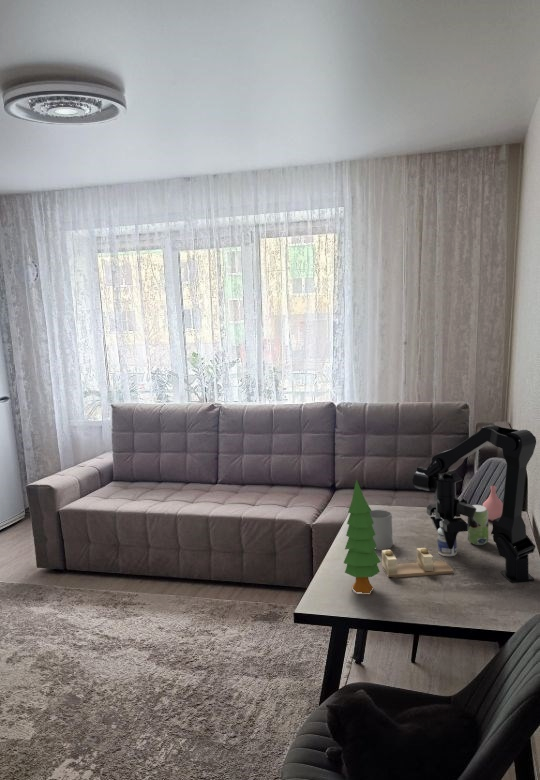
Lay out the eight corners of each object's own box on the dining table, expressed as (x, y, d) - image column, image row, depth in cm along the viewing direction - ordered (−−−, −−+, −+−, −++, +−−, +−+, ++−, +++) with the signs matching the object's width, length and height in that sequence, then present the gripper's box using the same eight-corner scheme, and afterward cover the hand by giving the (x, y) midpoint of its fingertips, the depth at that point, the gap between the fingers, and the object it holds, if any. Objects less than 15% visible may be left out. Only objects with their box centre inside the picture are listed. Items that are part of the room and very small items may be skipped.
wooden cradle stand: (453, 573, 156) (452, 552, 156) (388, 577, 155) (387, 557, 155) (444, 563, 163) (443, 543, 163) (382, 567, 162) (381, 547, 162)
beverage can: (485, 539, 180) (484, 502, 179) (492, 547, 173) (491, 509, 172) (465, 539, 181) (464, 502, 180) (470, 548, 174) (470, 509, 172)
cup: (390, 550, 175) (389, 518, 174) (364, 548, 178) (362, 517, 177) (394, 540, 183) (393, 510, 182) (368, 539, 186) (367, 509, 185)
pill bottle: (448, 548, 174) (448, 517, 173) (460, 554, 169) (459, 522, 168) (434, 552, 172) (433, 520, 171) (445, 558, 167) (444, 525, 166)
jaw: (433, 570, 156) (432, 554, 156) (424, 571, 156) (423, 554, 156) (425, 561, 163) (424, 545, 162) (417, 561, 163) (416, 545, 162)
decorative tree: (345, 597, 145) (340, 482, 143) (342, 581, 155) (338, 473, 152) (383, 596, 145) (379, 481, 142) (378, 580, 154) (374, 472, 151)
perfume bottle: (507, 524, 193) (506, 489, 192) (483, 523, 195) (482, 489, 194) (503, 516, 200) (503, 483, 199) (480, 516, 202) (480, 483, 201)
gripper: (485, 501, 160) (486, 555, 161) (460, 484, 178) (461, 532, 180) (447, 504, 159) (448, 557, 161) (425, 487, 178) (426, 535, 179)
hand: (447, 545), depth 170 cm, fingers closed on pill bottle, 5 cm apart
